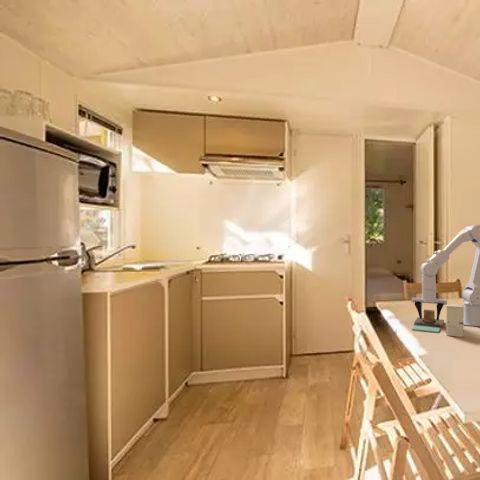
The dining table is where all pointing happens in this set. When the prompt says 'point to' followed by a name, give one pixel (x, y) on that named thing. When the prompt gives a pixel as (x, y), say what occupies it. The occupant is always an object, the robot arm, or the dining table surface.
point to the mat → (426, 329)
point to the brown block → (429, 316)
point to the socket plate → (429, 323)
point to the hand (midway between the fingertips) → (429, 319)
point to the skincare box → (455, 320)
